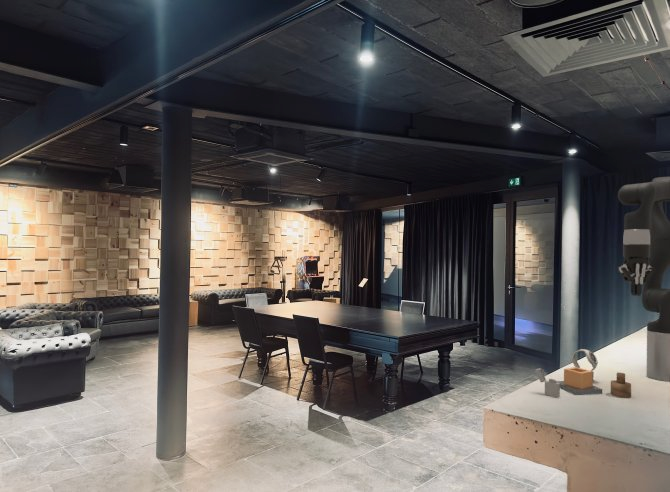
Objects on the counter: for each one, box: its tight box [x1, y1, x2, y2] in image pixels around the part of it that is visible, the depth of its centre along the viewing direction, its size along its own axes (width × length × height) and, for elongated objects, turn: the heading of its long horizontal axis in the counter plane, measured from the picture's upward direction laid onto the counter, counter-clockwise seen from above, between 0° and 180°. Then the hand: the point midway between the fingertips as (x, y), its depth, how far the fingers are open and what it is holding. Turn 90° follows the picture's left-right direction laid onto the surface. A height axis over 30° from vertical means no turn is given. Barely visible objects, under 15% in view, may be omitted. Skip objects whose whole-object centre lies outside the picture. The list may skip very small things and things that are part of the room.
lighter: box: [535, 367, 561, 399], centre depth 146 cm, size 7×2×8 cm, turn 49°
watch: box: [571, 348, 599, 374], centre depth 164 cm, size 6×8×11 cm
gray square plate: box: [556, 380, 603, 396], centre depth 153 cm, size 10×10×5 cm
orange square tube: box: [563, 366, 594, 389], centre depth 153 cm, size 6×6×5 cm
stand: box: [610, 372, 632, 399], centre depth 147 cm, size 6×6×7 cm
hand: (636, 295), depth 152 cm, fingers closed
